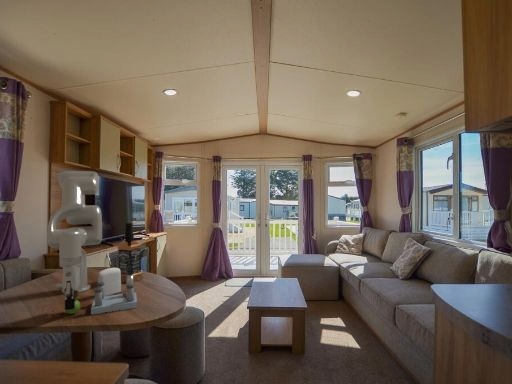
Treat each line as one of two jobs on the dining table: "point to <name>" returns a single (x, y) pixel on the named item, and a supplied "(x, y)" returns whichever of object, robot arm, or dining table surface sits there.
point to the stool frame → (113, 300)
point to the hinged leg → (129, 279)
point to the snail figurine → (77, 303)
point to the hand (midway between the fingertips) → (71, 306)
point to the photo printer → (110, 280)
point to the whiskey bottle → (129, 256)
